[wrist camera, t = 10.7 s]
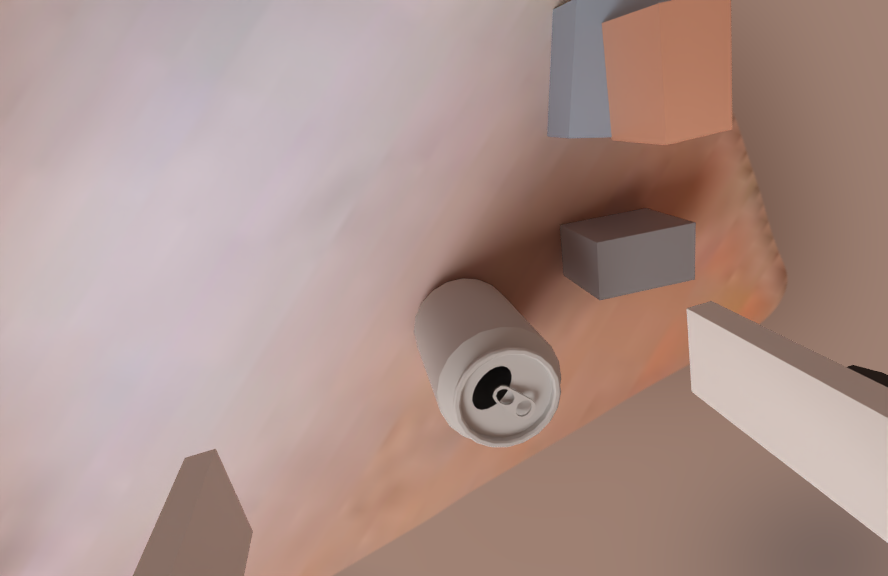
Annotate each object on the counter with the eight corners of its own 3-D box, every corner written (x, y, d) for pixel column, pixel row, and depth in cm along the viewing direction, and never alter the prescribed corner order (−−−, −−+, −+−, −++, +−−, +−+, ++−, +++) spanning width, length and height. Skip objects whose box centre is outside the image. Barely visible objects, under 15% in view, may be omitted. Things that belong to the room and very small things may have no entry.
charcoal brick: (563, 274, 40) (599, 300, 35) (559, 224, 39) (596, 242, 34) (646, 257, 41) (694, 279, 36) (645, 208, 40) (695, 222, 34)
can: (448, 256, 38) (495, 314, 27) (526, 305, 41) (598, 376, 29) (393, 339, 39) (415, 427, 28) (472, 381, 42) (522, 478, 31)
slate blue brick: (551, 10, 35) (576, -3, 31) (660, 12, 36) (697, 0, 32) (545, 136, 37) (568, 138, 33) (648, 133, 39) (681, 135, 35)
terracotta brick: (601, 23, 32) (658, 3, 26) (661, 10, 32) (730, -12, 27) (611, 140, 34) (666, 145, 28) (667, 127, 35) (732, 129, 29)
